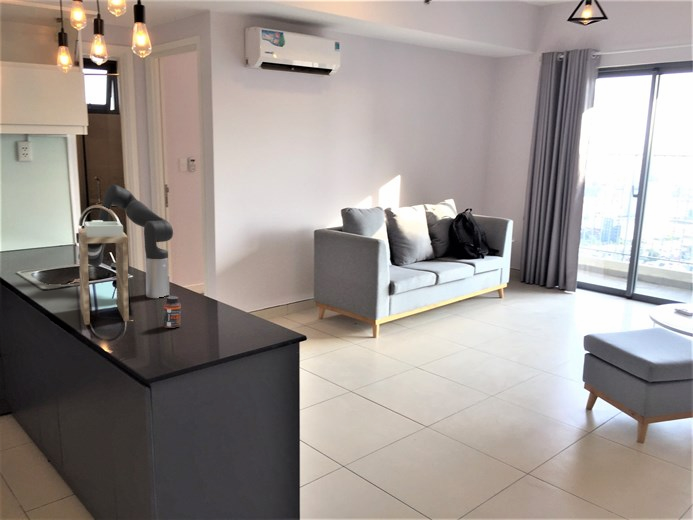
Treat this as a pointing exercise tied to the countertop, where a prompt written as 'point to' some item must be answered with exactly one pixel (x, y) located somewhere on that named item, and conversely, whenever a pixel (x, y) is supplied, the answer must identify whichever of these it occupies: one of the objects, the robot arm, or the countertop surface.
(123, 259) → the oak shelf
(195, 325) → the countertop surface
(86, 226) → the tray
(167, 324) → the supplement bottle
